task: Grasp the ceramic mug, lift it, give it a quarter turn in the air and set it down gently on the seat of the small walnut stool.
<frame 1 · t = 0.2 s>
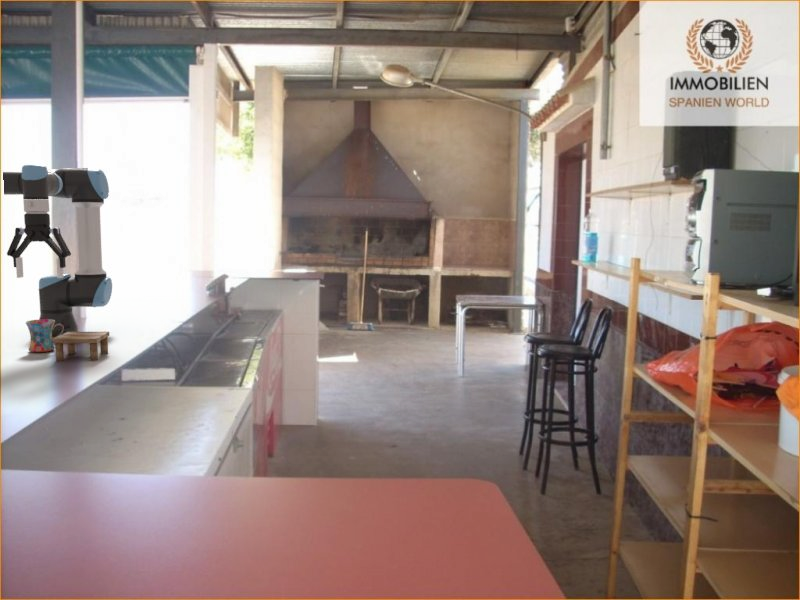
hand: (40, 277, 252), 27 cm above the table, fingers open, 13 cm apart
stool: (82, 356, 258), on the table
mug: (46, 351, 268), on the table
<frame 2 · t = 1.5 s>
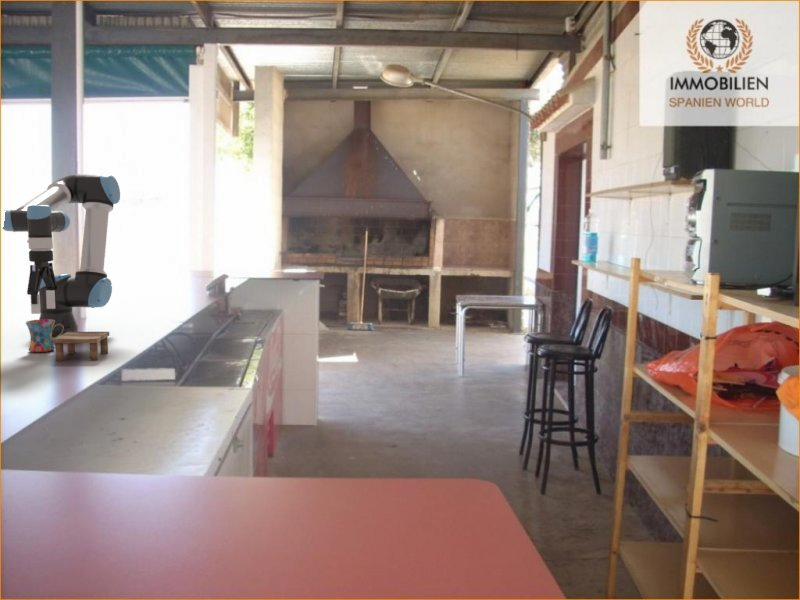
hand: (43, 311, 265), 14 cm above the table, fingers open, 13 cm apart
nothing on the table moved.
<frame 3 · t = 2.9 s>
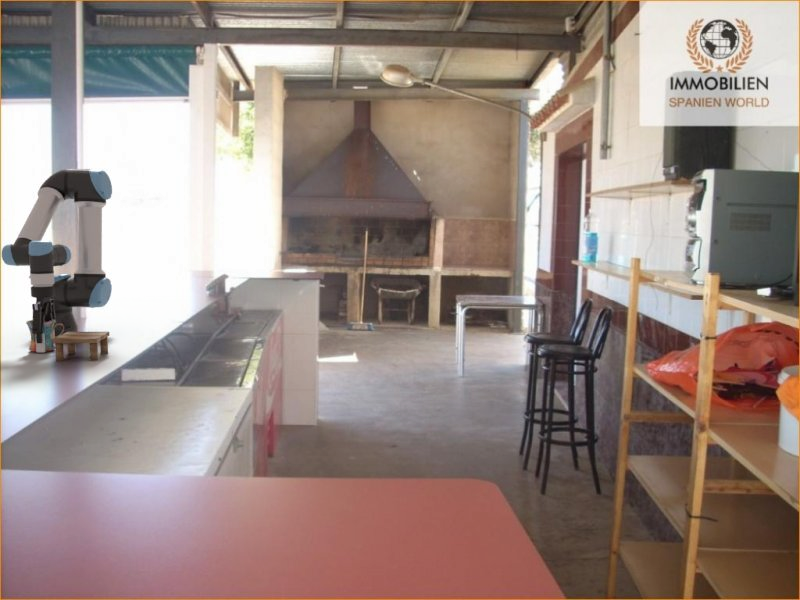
hand: (45, 349, 267), 0 cm above the table, fingers closed on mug, 8 cm apart
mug: (46, 351, 268), on the table, touching gripper
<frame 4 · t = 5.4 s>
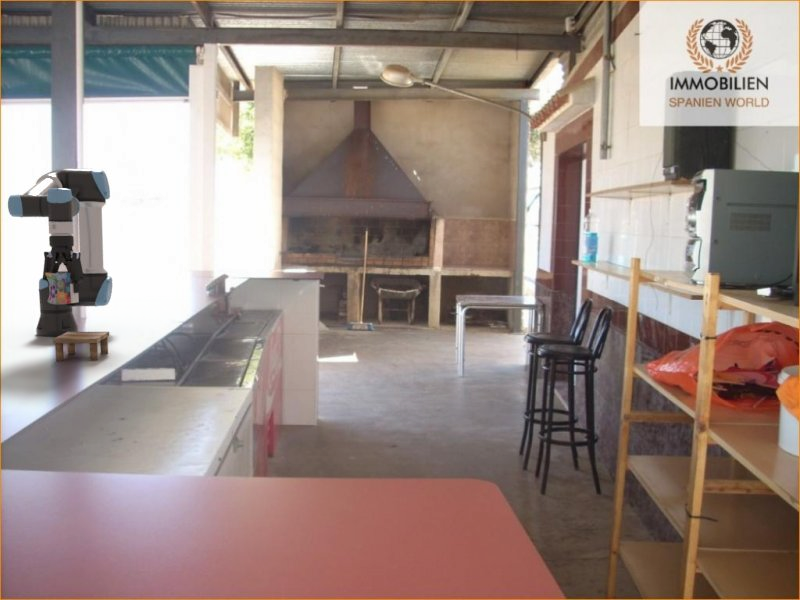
hand: (64, 301, 259), 18 cm above the table, fingers closed on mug, 8 cm apart
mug: (63, 303, 259), point 18 cm above the table, touching gripper
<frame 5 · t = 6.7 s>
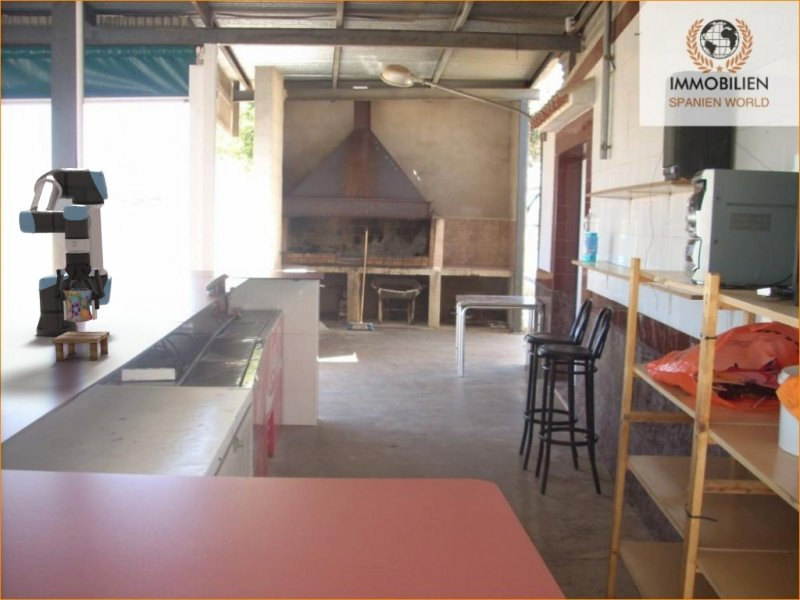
hand: (80, 319, 256), 13 cm above the table, fingers closed on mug, 8 cm apart
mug: (79, 321, 256), point 12 cm above the table, touching gripper
when the fingers open (9 cm above the table, at t = 7.8 s): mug drops 1 cm, resting on stool.
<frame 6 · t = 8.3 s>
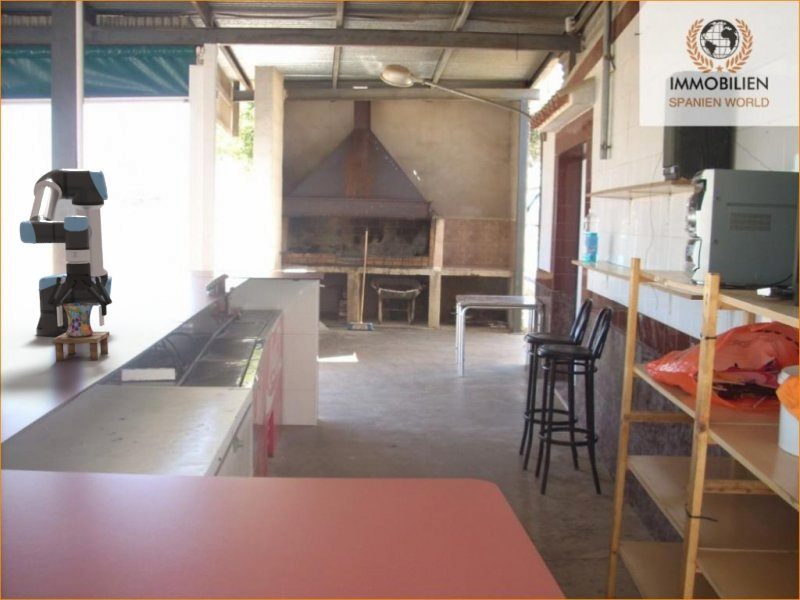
hand: (81, 325, 257), 11 cm above the table, fingers open, 13 cm apart
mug: (79, 335, 257), point 7 cm above the table, touching stool
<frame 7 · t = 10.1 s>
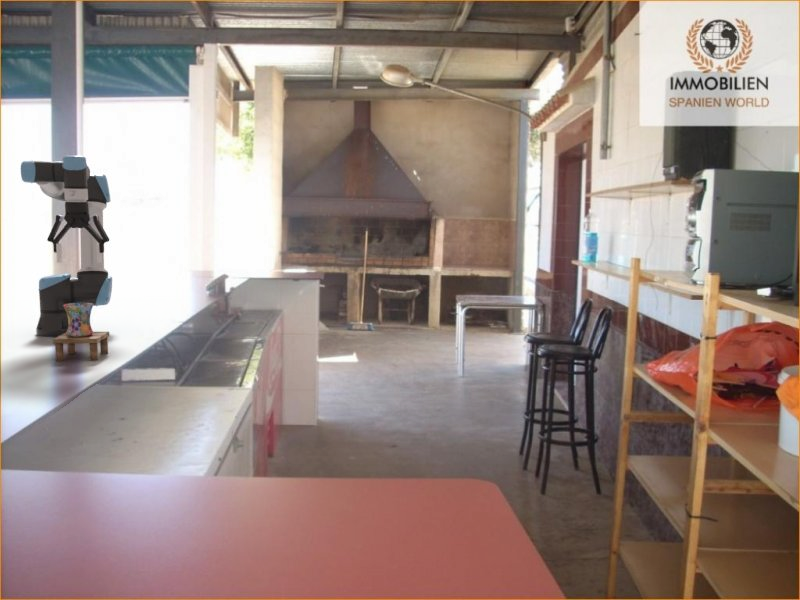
hand: (79, 262, 267), 31 cm above the table, fingers open, 13 cm apart
nothing on the table moved.
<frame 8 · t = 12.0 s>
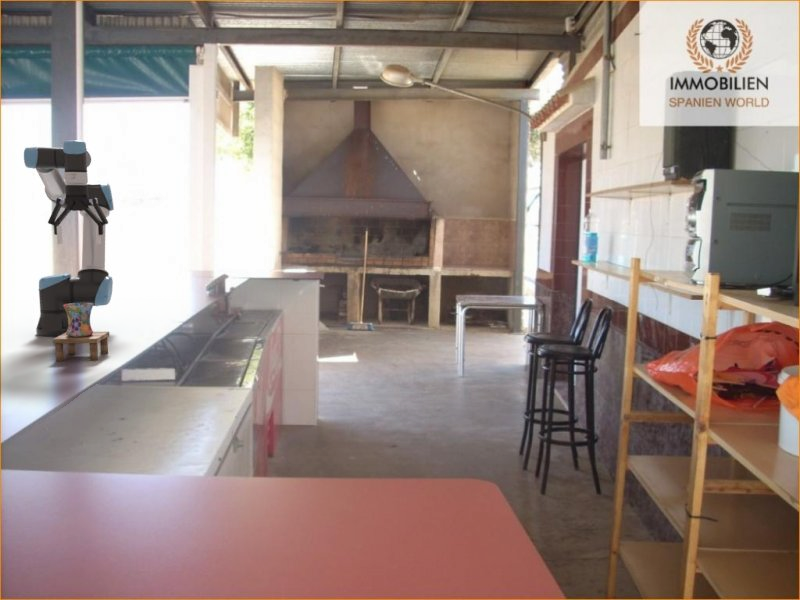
hand: (79, 244, 275), 37 cm above the table, fingers open, 13 cm apart
nothing on the table moved.
at the end: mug inside the target area on the stool (0.6 cm from its centre), point 7.2 cm above the stool's base; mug tilted 0°; the gripper is holding nothing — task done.
